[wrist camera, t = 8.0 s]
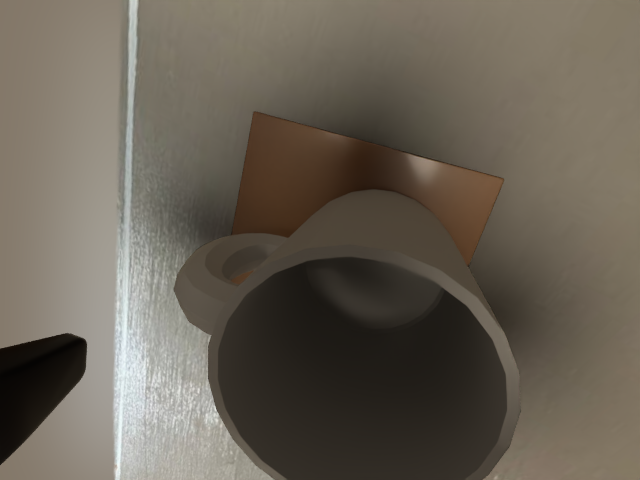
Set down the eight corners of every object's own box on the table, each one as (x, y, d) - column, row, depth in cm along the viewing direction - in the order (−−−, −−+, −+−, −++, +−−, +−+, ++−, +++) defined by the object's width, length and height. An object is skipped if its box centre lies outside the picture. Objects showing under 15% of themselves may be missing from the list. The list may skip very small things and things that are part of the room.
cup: (425, 353, 18) (454, 553, 9) (233, 293, 19) (102, 422, 10) (479, 211, 15) (583, 303, 7) (257, 153, 16) (114, 172, 8)
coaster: (218, 319, 20) (215, 322, 19) (256, 111, 16) (253, 111, 16) (416, 386, 19) (416, 391, 18) (502, 177, 15) (505, 178, 15)
